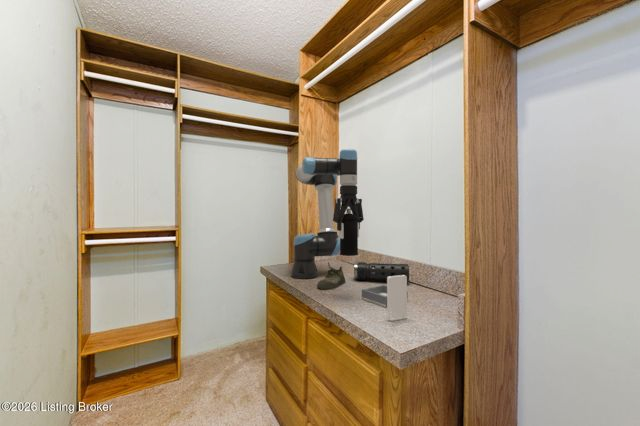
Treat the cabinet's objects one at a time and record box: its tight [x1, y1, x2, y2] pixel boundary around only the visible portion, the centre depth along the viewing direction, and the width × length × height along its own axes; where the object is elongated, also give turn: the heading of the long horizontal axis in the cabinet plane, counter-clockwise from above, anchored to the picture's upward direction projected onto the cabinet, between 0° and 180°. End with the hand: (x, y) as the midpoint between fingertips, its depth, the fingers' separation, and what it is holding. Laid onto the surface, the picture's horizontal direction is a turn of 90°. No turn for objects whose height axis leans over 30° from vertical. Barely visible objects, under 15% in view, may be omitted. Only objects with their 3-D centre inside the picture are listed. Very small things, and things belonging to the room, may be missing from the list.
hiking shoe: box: [316, 261, 347, 291], centre depth 141 cm, size 8×20×12 cm, turn 144°
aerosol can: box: [339, 208, 359, 257], centre depth 123 cm, size 8×8×20 cm
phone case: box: [386, 275, 408, 322], centre depth 98 cm, size 7×1×15 cm, turn 111°
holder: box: [361, 284, 409, 309], centre depth 120 cm, size 13×13×4 cm
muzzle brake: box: [353, 261, 410, 284], centre depth 150 cm, size 10×28×10 cm, turn 78°
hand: (348, 237), depth 123 cm, fingers closed on aerosol can, 8 cm apart
